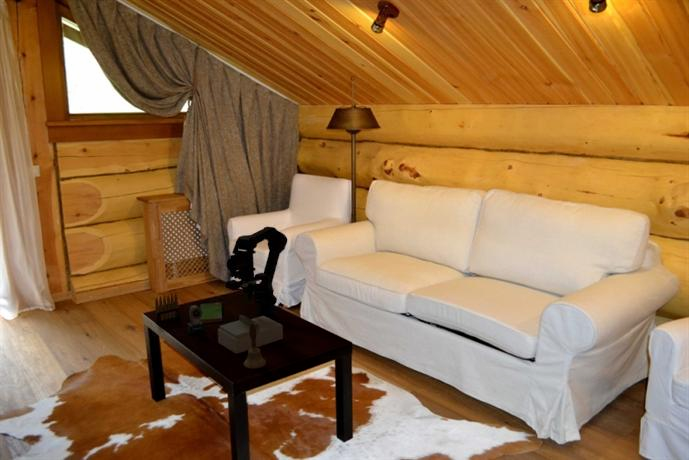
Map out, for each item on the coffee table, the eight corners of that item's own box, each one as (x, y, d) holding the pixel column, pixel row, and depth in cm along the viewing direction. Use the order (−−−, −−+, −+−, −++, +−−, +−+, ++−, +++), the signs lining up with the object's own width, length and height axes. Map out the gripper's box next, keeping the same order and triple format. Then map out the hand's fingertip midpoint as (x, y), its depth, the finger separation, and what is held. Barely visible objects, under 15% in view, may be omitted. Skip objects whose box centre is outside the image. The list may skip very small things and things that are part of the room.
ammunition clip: (178, 317, 262) (176, 292, 259) (180, 318, 261) (178, 293, 258) (155, 322, 255) (153, 297, 253) (157, 324, 254) (155, 298, 251)
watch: (192, 335, 242) (190, 310, 239) (186, 328, 248) (184, 304, 246) (205, 332, 245) (203, 307, 242) (199, 326, 251) (197, 302, 249)
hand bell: (256, 370, 210) (254, 329, 206) (239, 365, 214) (237, 325, 210) (270, 361, 217) (269, 322, 213) (253, 357, 221) (252, 317, 217)
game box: (200, 325, 255) (200, 307, 274) (222, 324, 257) (221, 306, 276) (199, 319, 254) (200, 301, 273) (222, 317, 256) (221, 300, 275)
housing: (264, 328, 248) (263, 315, 247) (282, 338, 237) (282, 325, 236) (218, 342, 234) (217, 329, 233) (236, 353, 224) (235, 339, 222)
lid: (242, 322, 239) (242, 314, 239) (259, 331, 230) (259, 323, 229) (219, 328, 233) (219, 321, 232) (236, 338, 223) (236, 330, 222)
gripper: (255, 257, 257) (256, 290, 260) (217, 265, 245) (220, 300, 248) (269, 262, 249) (270, 296, 252) (231, 271, 237) (233, 307, 240)
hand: (248, 300), depth 248 cm, fingers closed
